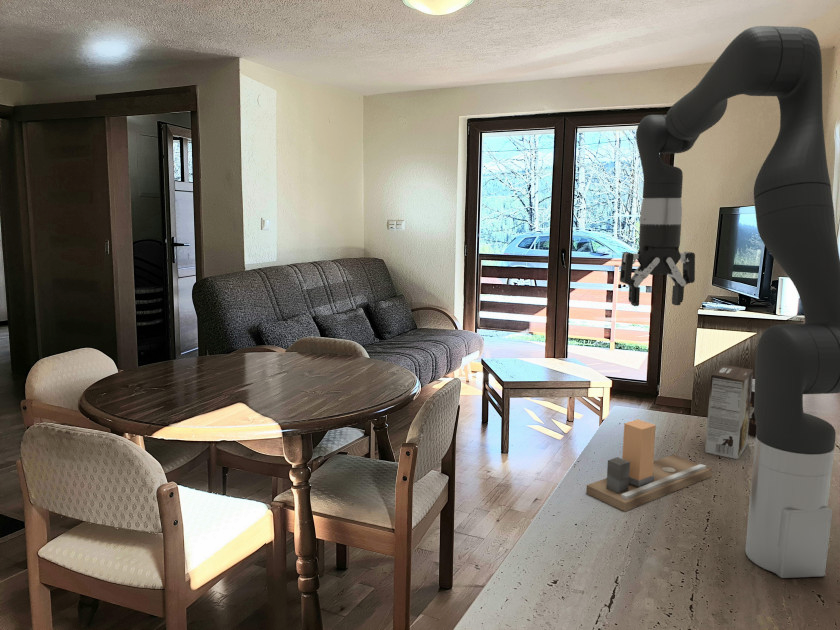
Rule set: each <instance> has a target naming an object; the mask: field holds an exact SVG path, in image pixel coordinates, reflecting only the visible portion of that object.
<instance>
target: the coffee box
mask: <svg viewBox="0 0 840 630" xmlns="http://www.w3.org/2000/svg"><path fill="white" fill-rule="evenodd" d="M753 378H754V369H753V368H752V369H751V368H744V367H739V366H733V365H725V364H720V365H719V366H718V367H717V368H716V369H714V371H713V372H712V373H711V374H710V382H709V383H710V384H709V396H708V397H709V399H708V409H707V423H706V425H707V426H706V434H705V435H706V436H705V447H704V451H705V453H707V454H711V455H716V456H719V457H725V458H730V459H735V460H739V459H740V457H741V456H742V454H743V452H744V451H745V449H746V447H747V446H748V438H749V434H748V428H749V416H750V404H751V392H752V383H753Z"/></svg>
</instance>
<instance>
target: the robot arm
mask: <svg viewBox="0 0 840 630" xmlns="http://www.w3.org/2000/svg"><path fill="white" fill-rule="evenodd" d="M822 61H823V60H822V51H821V45H820V42H819V39H818V37H817V35H816V34H815V32H814V31H813V30H811V29H810V28H806V27H801V26H781V25H780V26H777V25H776V26H774V25H757V26H752V27H749V28H746V29H745V30H743V31H741V32H740V33H739V34H738V35H737V36H736V37H734V39H733V40H732V41H730V43H729V44H728V45H727V47H725V49H724V51H723V52H722V53H721V54H720V55H719V57H718V58H717V59H716V60H715V62H714V63H713V65H711V67H710V68H709V69H708V71H707V72H706V74H704V76H703V77H702V78H701V80H700V81H699V83H697V84H696V85H695V87H693V88H692V90H690V91H689V92H688V93H686V94H685V95H683V96H682V97H681V98H680V99H679V100H677V101H676V102H675V103H674V104H672V106H671V107H670V108H669V109H668V111H667V113H666V114H648V115H645V116H644V117H643V118H642V119H641V120H640V122H639V123H638V125H637V128H636V131H635V132H636V133H635V141H636V146H637V151H638V154H639V158H640V163H641V169H642V173H643V174H642V175H643V185H642V186H643V187H642V200H641V201H642V202H641V206H640V212H639V213H640V215H639V234H638V235H639V236H638V237H639V238H638V252H637V253H633V252H627V251H626V252H625V251H624V252H623V253H622V255H621V265H620V274H619V275H620V276H619V282H620V283H622V284H625V285H627V286H628V302H629V303H630V305H631V306H633V307H639V306H640V297H641V296H640V294H641V293H640V292H641V287H639V286H640V285H641V284H642V282H643V281H644V280H645V279H647V278H648V276H649V275H650V276H658V275H662V276H664V275H665V276H668V277H669V278H670V279H671V281H672V283H674V285H672V291H671V292H672V293H671V294H672V296H671V304H672V305H674V306H681V304H682V303H683V301H684V292H685V286H686V285H688V284H693V283H695V281H696V280H695V279H696V254H695V252H693V251H692V252H691V251H684V252H680V246H681V245H680V244H681V237H682V236H681V233H682V232H681V231H682V218H683V215H682V214H683V207H682V205H683V204H682V194H683V179H684V178H683V177H684V175H683V174H684V172H683V171H682V169H681V168H680V167H677V166H673V165H669V164H666V163H664V161H663V160H662V157H661V154H681V153H682V154H683V153H685V152H688V151H690V150H691V149H692V148H693V146H694V145H695V144H696V141H697V140H698V139H699V137H700V135H702V134H703V133H704V132H706V131H708V130H710V129H711V128H712V127H713V126H715V125H716V124H718V123H719V121H720V120H722V118H723V117H724V115H725V113H726V110H727V107H728V99H731V98H734V97H736V96H740V95H746V96H749V97H751V96H752V97H776V98H777V101H778V104H779V112H780V113H779V114H780V117H779V120H780V121H779V125H780V126H779V132H778V134H777V137H776V140H775V142H774V144H773V146H772V147H771V150H770V151H769V152H768V155H767V156H766V158H765V160H764V161H763V163H762V165H761V167H760V169H759V171H758V174H757V176H756V179H755V182H754V185H753V202H754V210H755V211H754V212H755V219H756V227H757V232H758V235H759V237H760V239H761V241H762V243H763V244H764V246H765V248H766V249H767V251H768V252H769V253H770V255H771V256H772V257H773V259H774V260H775V261H776V262H777V264H778V265H779V267H780V268H781V269H782V270H783V271H784V272H785V274H786V276H788V278H789V279H790V281H791V282H792V283H793V285H794V287H795V289H796V292H797V294H798V296H799V298H800V303H801V306H802V311H803V315H804V316H803V317H804V322H805V323H792V324H791V323H790V324H788V323H787V324H786V323H785V324H775V325H774V324H773V325H771V326H769V327H768V328H766V329H765V330H764V331H763V332H762V334H761V335H760V338H759V339H758V343H757V346H756V353H755V363H754V364H755V365H754V367H755V368H754V369H755V370H754V383H755V395H754V414H755V419H756V437H755V440H754V441H755V443H754V452H753V462H752V473H751V481H750V482H751V485H750V493H749V503H748V504H749V507H748V515H747V516H748V517H747V528H746V539H745V555H746V556H747V559H749V560H750V561H751V562H753V564H755V565H757V566H758V567H760V568H762V569H764V570H766V571H769V572H771V573H774V574H776V575H777V576H778V578H779V577H780V578H781V579H790V578H811V577H814V578H815V577H825V575H826V569H827V568H826V567H827V558H828V551H829V543H830V535H831V524H832V516H833V511H832V509H831V508H830V507H828V506H829V496H830V489H831V488H830V487H831V480H832V470H833V465H834V464H833V462H834V455H835V454H834V453H835V446H836V438H837V437H836V436H837V435H836V429H835V428H834V426H833V425H832V424H831V423H830V422H828V421H827V420H826V419H823V418H821V417H819V416H815V415H812V414H810V413H806V412H804V401H803V398H804V395H825V394H827V395H829V394H831V395H832V394H840V253H839V252H840V251H839V245H838V238H837V231H836V219H835V208H834V207H835V206H834V201H833V200H834V199H833V192H832V184H831V180H830V179H831V178H830V174H829V169H828V159H827V152H826V142H825V129H824V119H823V62H822ZM636 261H637V262H638V263H639V265H638V266H637V268H636V269H635V270H634V271H633V265H634V264H635V263H636ZM679 261H680V262H681V263H682V272H681V271H680V269H679V268H678V266H677V265H678V263H679ZM633 272H634V273H633ZM632 273H633V275H632Z"/></svg>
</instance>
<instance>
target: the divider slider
mask: <svg viewBox="0 0 840 630" xmlns="http://www.w3.org/2000/svg"><path fill="white" fill-rule="evenodd" d="M623 424H624V425H623V438H622V439H623V441H622V442H623V443H622V457H621V459H624V460H626V461H629V462H630V470H629V483H631V484H633V485H635V486H638V487H640V486H643V485H645V484H648V483H651V482H653V481H654V475H653V462H654V461H655V460H654V457H655V445H656V444H655V443H656V428H657V427H656V424H653V423H650V422H647V421H643V420H641V419H635V420H631V421H628V422H625V423H623Z"/></svg>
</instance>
